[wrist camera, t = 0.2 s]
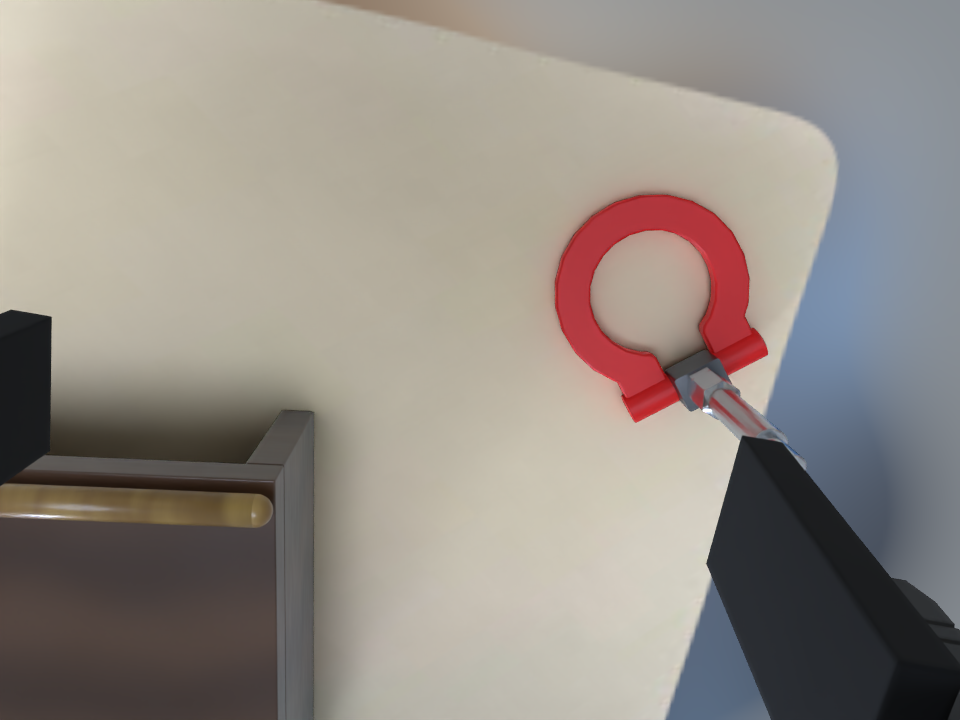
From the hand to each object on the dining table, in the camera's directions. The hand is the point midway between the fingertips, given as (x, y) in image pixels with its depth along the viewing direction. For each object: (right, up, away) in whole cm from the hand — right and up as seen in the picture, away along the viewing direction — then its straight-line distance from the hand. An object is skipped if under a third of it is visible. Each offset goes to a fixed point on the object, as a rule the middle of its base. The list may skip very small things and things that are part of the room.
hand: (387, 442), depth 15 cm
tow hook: (+9, +4, +21) cm, 24 cm away
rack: (-14, -9, +24) cm, 30 cm away
